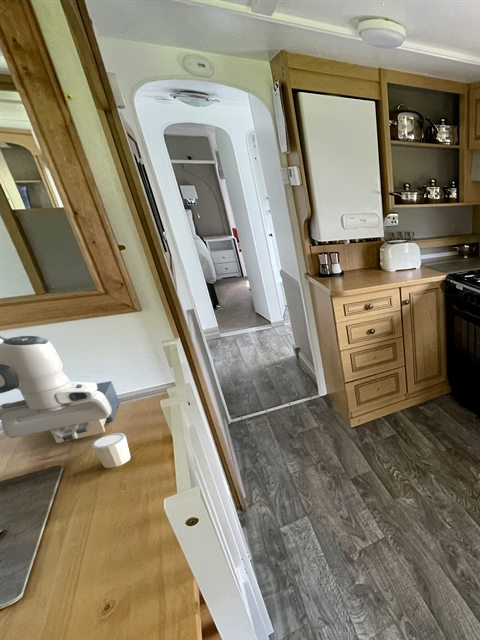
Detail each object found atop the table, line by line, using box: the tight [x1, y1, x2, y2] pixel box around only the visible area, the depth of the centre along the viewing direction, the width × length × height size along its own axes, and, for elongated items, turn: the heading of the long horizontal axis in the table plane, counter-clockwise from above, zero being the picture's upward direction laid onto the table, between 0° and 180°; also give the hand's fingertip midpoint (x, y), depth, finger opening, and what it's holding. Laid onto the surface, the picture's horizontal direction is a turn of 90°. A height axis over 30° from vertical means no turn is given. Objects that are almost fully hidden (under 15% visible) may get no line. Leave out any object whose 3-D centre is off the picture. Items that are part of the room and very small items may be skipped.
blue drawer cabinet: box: [96, 380, 120, 424], centre depth 121 cm, size 14×12×9 cm
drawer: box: [52, 418, 107, 444], centre depth 113 cm, size 17×10×7 cm, turn 34°
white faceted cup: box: [90, 432, 131, 469], centre depth 101 cm, size 7×7×7 cm
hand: (70, 439), depth 104 cm, fingers closed
